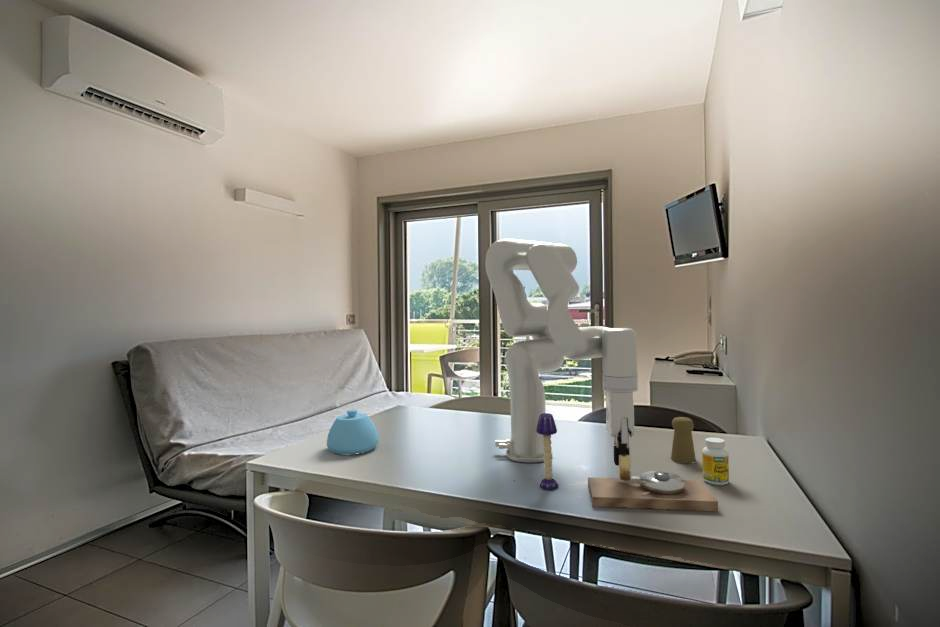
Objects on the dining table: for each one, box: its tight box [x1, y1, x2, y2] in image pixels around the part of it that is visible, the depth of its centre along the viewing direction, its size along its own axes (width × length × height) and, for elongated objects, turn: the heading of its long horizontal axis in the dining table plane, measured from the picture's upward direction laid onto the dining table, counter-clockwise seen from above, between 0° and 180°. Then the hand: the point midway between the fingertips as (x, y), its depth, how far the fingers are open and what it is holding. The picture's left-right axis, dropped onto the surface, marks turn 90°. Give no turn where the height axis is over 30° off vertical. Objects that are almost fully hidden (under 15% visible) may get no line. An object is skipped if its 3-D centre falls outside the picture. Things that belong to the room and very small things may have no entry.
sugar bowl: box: [326, 409, 380, 455], centre depth 142 cm, size 15×15×12 cm
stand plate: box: [587, 476, 719, 512], centre depth 101 cm, size 24×11×2 cm, turn 81°
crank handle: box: [618, 454, 686, 494], centre depth 102 cm, size 13×9×6 cm
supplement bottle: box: [701, 437, 730, 486], centre depth 110 cm, size 5×5×10 cm
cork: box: [670, 416, 697, 464], centre depth 125 cm, size 6×6×11 cm
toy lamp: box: [536, 412, 559, 491], centre depth 109 cm, size 5×5×17 cm
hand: (621, 464), depth 108 cm, fingers closed
